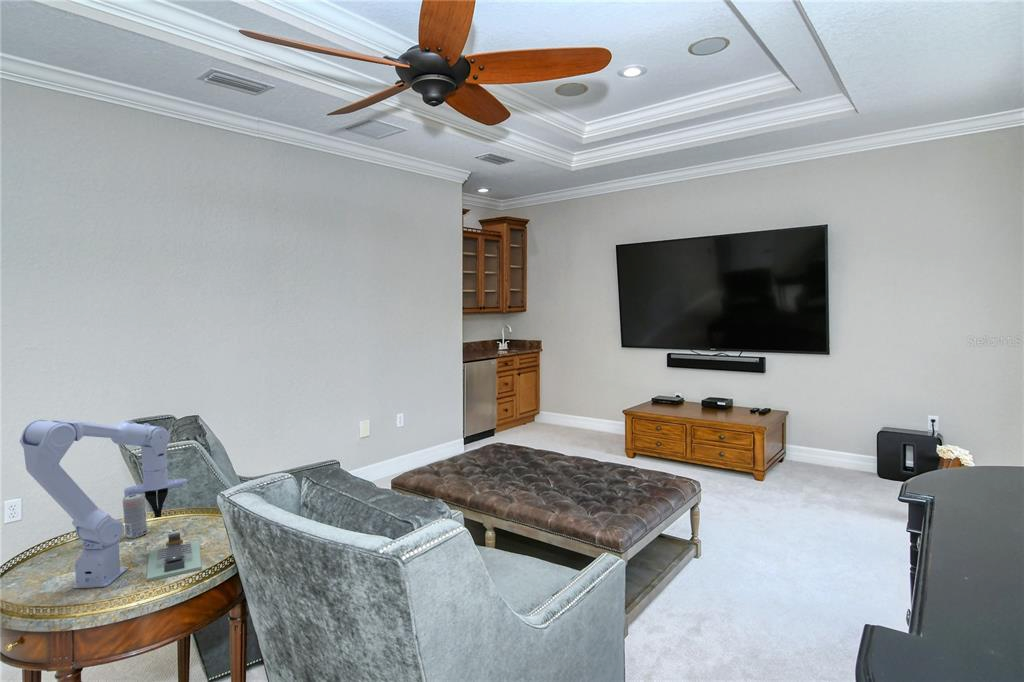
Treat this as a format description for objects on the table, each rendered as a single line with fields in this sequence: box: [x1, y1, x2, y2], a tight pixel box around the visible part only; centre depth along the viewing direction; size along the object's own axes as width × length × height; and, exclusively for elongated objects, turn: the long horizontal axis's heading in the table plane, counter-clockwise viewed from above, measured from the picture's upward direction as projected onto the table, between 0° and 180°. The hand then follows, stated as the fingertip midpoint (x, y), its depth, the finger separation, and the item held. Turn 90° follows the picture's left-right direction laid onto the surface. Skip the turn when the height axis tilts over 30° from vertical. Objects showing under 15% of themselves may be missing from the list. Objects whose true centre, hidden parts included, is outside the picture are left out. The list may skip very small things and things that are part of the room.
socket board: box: [146, 532, 202, 582], centre depth 149 cm, size 18×12×5 cm, turn 31°
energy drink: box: [122, 493, 148, 539], centre depth 166 cm, size 5×5×12 cm
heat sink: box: [156, 542, 192, 568], centre depth 149 cm, size 8×8×2 cm
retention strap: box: [165, 538, 184, 563], centre depth 149 cm, size 13×4×1 cm, turn 31°
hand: (158, 516), depth 154 cm, fingers closed
